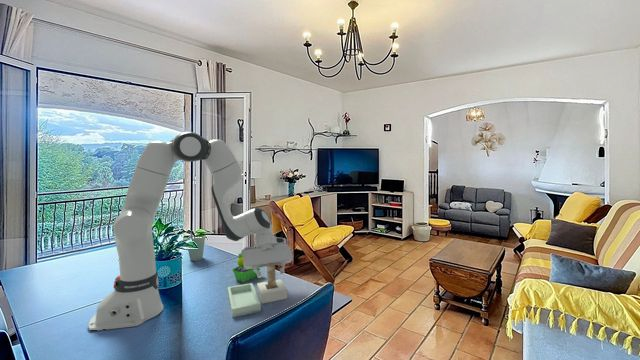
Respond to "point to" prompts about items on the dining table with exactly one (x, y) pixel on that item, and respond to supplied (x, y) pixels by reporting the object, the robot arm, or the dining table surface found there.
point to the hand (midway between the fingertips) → (271, 275)
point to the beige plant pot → (197, 253)
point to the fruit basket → (243, 271)
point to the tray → (243, 300)
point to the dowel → (271, 275)
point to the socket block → (271, 292)
